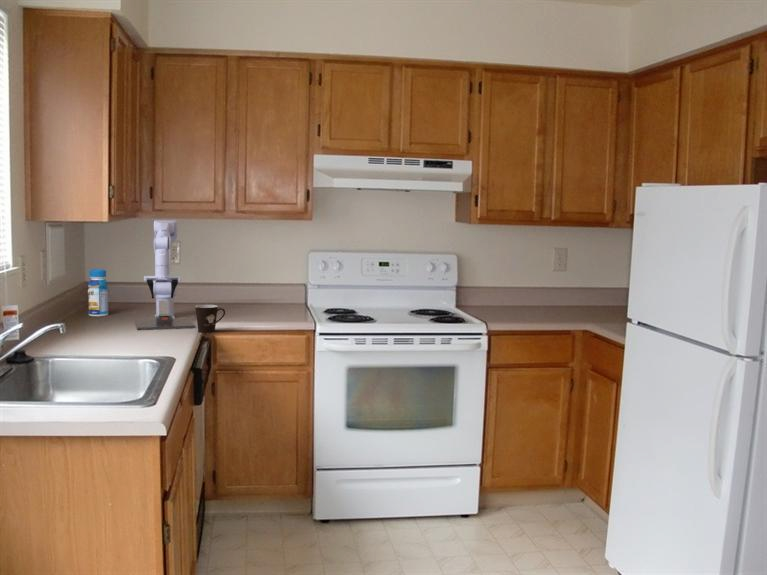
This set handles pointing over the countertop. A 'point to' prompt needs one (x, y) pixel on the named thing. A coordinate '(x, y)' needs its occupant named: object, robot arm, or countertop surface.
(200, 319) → the coffee mug
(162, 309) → the silver metallic block
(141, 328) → the stand
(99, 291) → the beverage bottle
